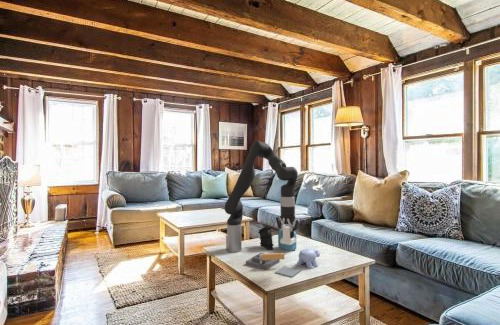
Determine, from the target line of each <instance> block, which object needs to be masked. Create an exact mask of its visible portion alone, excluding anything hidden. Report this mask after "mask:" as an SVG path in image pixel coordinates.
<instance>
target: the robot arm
mask: <svg viewBox="0 0 500 325" xmlns="http://www.w3.org/2000/svg"><path fill="white" fill-rule="evenodd" d="M257 157H258V158H263V159H265V160H267V161H268V165H269V166H270V167H271V169H272V170H273V171H274V172H275V174H276V177H277V179H278V180H281V181H287V182H286V184H283V185H281V186H280V216H277V217H275V221H276V224H277V228H278V229H279V230H282V236H283V228H284V227H286V226H288V227H290V238H293V237H294V231H295V232H296V231H297V230H298V229H299V227H300V223H301V219H300V218H299V219H298V218H297V217H296V216H295V215H296V200H295V187H296V183H297V180H298V175H299V174H298V173H299V172H298V170H297V168H296V167H294V166H287V164H286V162H284V160H283V159H281V158H280V157H279V155H278V154H276V153H275V152H274V150H273V149H272V147H271V146H270V145H269V144H268V143H266V142H264V141H260V140H255V141H253V142H252V144H251V146H250V149H249V151H248V154H247V156H246V159H245V162H244V165H243V167H242V169H241V171H240V173H239V175H238V177H237V180H236V182H235V184H234V187H233V188H232V191H231V192H230V194H229V196H228V198H227V199H226V201H225V204H224V212H225V214H227V215H229V217H228V218H227V220H226V224H227V225H226V233H227V234H226V236H225V244H226V245H225V250H226V251H227V252H230V253H238V252H241V251H242V249H243V248H242V221H243V213H244V212H243V211H244V210H243V209H244V208H243V202H242V201H241V198H242V197H243V196H244V195H245V194H246V192H247V191H248V190H249V189H250V187H251V186H252V185H253V182H254V179H255V175H256V174H255V167H254V166H255V165H254V164H255V161H256V158H257Z"/></svg>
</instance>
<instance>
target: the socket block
mask: <svg viewBox="0 0 500 325" xmlns="http://www.w3.org/2000/svg"><path fill="white" fill-rule="evenodd" d="M259 254H265V253H263V252H260V253H258V254H255V255H254V256H252V257H251V258H249V259H247V260H245V266H250V267H253V268H259V269H262V270H265V271H267V270H269V269H270V268H272V267H274V266H275V265H277V264H279V263H280V260H281V259H277V260H260V256H259Z"/></svg>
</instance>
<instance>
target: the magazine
mask: <svg viewBox="0 0 500 325" xmlns="http://www.w3.org/2000/svg"><path fill="white" fill-rule="evenodd" d="M271 229H272V227H271V226H270V225H266V226H264V227H262V228H259V229H258V231H257V232H258V234H259V240H260V242H259V244H260V247H262V248H264V249H266V250H268V251H273V249H274V243H273V234H272V230H271Z"/></svg>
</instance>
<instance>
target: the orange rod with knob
mask: <svg viewBox="0 0 500 325" xmlns="http://www.w3.org/2000/svg"><path fill="white" fill-rule="evenodd" d="M258 254H259V253H258ZM259 256H260V260H277V259H280V260H285V253H284V252H283V253H282V252H281V253H280V252H279V253H277V252H276V253H264V254H259Z"/></svg>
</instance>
